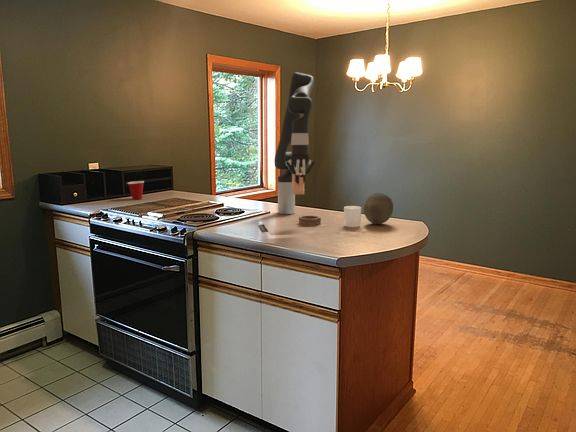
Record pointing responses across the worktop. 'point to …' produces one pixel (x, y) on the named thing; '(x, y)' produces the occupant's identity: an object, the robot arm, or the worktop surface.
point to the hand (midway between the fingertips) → (299, 183)
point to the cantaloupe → (378, 208)
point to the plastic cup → (136, 189)
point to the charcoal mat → (263, 228)
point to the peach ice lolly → (297, 185)
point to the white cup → (352, 216)
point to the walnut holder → (309, 221)
